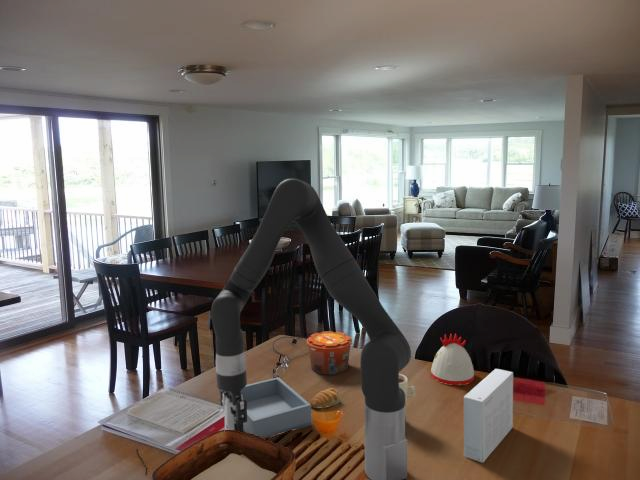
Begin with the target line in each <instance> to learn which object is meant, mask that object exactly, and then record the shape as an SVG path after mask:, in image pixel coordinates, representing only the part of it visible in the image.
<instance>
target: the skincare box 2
mask: <svg viewBox="0 0 640 480" xmlns="http://www.w3.org/2000/svg"><path fill="white" fill-rule="evenodd" d="M513 411H514V372H513V371H509V370H505V369H500V368H494V370H492V371H491V372H490V373H489V374H488V375H486V377H485V378H483V379H482V380H481V381H480V382H479V383H478V384H476V385H475V386H474V387H473V388H471V390H470V391H469V392H468V393H466V394H465V395H464V396H463V457H465V458H468V459H470V460H474V461H477V462H478V463H482V464H483V463H484V462H485V461H486V460H487V458H488V457H490V455H491V454H492V453H493V452H494V451H495V450H496V448H497V447H498V446H499V444H500V443H501V442H502V441H503V440H504V439H505V438H506V437H507V435H508V434H509V433H510V432H511V430H512V429H513V428H514V427H513V426H514V412H513Z"/></svg>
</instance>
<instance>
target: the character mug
mask: <svg viewBox="0 0 640 480" xmlns="http://www.w3.org/2000/svg"><path fill="white" fill-rule="evenodd" d="M399 387H400V388H401V389H402V390H403V391H404V393H405V403H406V402H407V400H408V398H415V396H416V388H415V386H414V385H409V379H408V377H407V376H406V375H404V374H402V373H399ZM409 390H410V391H411V392H410V393H409ZM406 419H407V418H406V416H405V422H406V421H407V420H406Z"/></svg>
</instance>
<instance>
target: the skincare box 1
mask: <svg viewBox="0 0 640 480" xmlns="http://www.w3.org/2000/svg"><path fill="white" fill-rule="evenodd" d="M235 406H236V405H235ZM235 406H234V405H233V404H232V402H230V403H228V402H227V401H226V398H225V405H224V410H223V412H224V413H223V414H224V431H225V430H234V420H233V415H231V413H230V407H232V408H233V410H234V411H235V410H236V407H235ZM240 417H241V416H240Z"/></svg>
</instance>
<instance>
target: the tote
mask: <svg viewBox="0 0 640 480" xmlns="http://www.w3.org/2000/svg"><path fill="white" fill-rule="evenodd" d="M240 392H241V393H242V397H243V400H246V401H247V422H245V423H243V428H244V432H245V433H246V432H247V433H250V434H254V435H256V436H260V437H263V438H265V437H266V438H267V437H269V436H273V435H276V434H278V433H282V432H285V431H289V430H292V429H297V430H300V429H304V428H306V427H310V426H312V407H311V403H309V402H308V401H307V400H306V399H305V398H303V396H302V395H300V394H299V393H298V392H297V391H296V390H294V389H293V388H292V387H291V386H289V385H288V384H287V383H286V382H285V381H284V380H282V379H281V378H280V377H273V378H270V379H266V380H265V379H264V380H261V381H256V382H253V383H249V384H248V383H247V384H246V386H245V387H244V388H243V389H242V390H241V391H240ZM243 400H242V401H243ZM247 433H246V434H247Z"/></svg>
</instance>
